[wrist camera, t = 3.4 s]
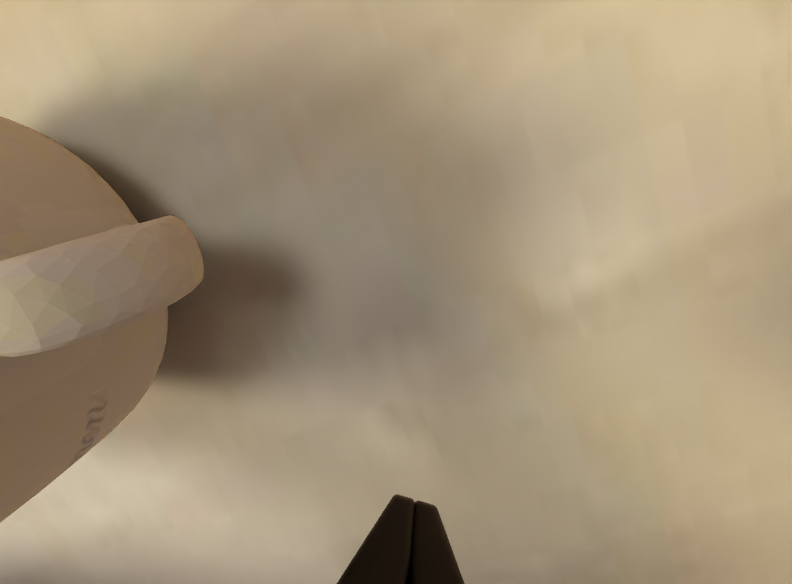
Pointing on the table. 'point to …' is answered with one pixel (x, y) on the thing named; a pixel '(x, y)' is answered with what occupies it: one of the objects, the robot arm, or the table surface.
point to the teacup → (75, 308)
